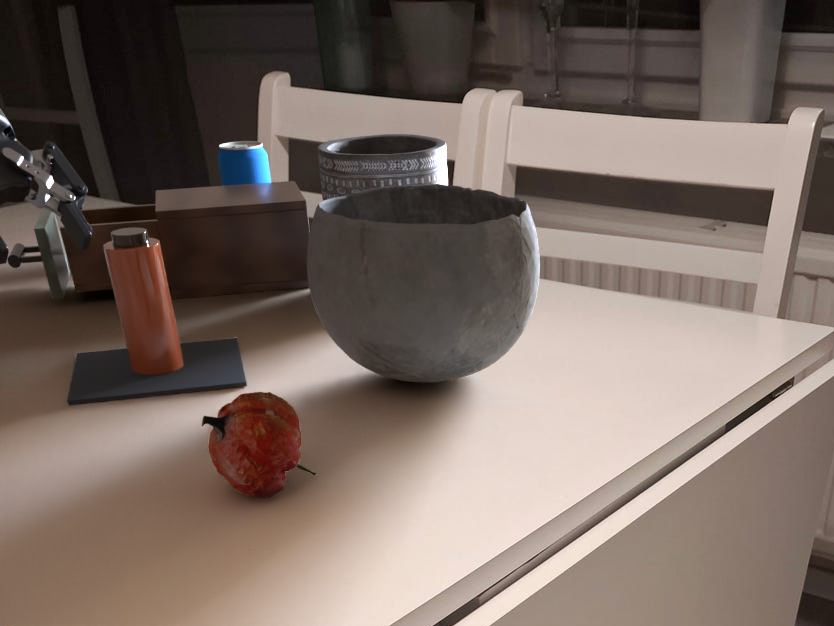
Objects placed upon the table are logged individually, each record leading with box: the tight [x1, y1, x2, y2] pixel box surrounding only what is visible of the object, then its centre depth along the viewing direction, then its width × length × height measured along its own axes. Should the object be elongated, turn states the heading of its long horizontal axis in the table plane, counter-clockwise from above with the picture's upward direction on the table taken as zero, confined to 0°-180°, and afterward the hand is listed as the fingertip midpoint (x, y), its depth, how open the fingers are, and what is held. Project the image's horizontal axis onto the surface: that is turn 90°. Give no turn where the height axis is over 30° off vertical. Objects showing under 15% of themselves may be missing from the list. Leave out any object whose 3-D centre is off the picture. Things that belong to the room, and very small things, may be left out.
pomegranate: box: [201, 391, 317, 498], centre depth 74 cm, size 7×7×10 cm
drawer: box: [7, 203, 170, 300], centre depth 118 cm, size 20×12×7 cm, turn 104°
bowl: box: [307, 184, 541, 384], centre depth 90 cm, size 20×20×15 cm
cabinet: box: [155, 180, 311, 300], centre depth 121 cm, size 17×13×9 cm
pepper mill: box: [103, 228, 184, 375], centre depth 94 cm, size 5×5×12 cm
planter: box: [317, 133, 449, 201], centre depth 115 cm, size 14×14×15 cm
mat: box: [66, 337, 248, 406], centre depth 97 cm, size 16×14×1 cm
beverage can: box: [217, 140, 272, 186], centre depth 134 cm, size 6×6×12 cm
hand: (46, 250), depth 95 cm, fingers open, 8 cm apart
